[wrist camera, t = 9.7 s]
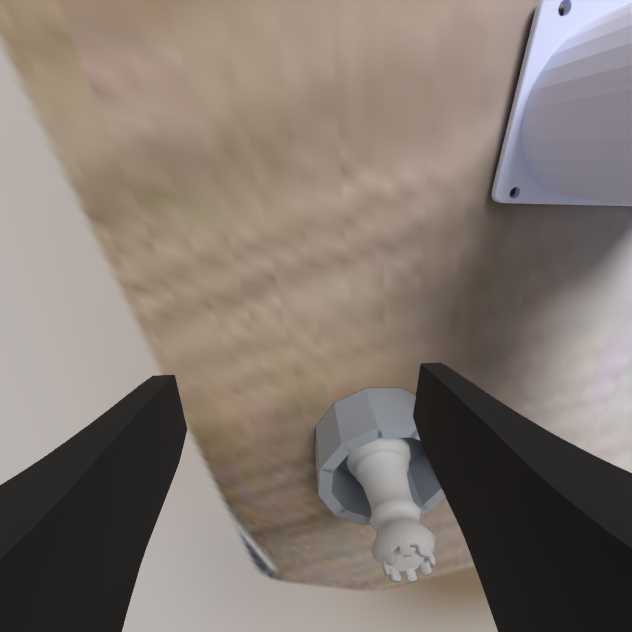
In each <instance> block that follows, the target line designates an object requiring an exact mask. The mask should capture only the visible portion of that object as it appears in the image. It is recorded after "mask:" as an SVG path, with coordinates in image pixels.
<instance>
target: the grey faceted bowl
mask: <svg viewBox="0 0 632 632" xmlns="http://www.w3.org/2000/svg"><path fill="white" fill-rule="evenodd" d="M415 399H416V395H414V394H412V393H410V392H408V391H406V390H404V389H402V388H365V389H363V390H361V391H359V392H357V393H355V394H352V395H350V396H348V397H346V398H344V399H342V400H340V401H337V402H335V403H334V404H333V405H332V406H331V408H330V409H329V410H328V412H327V413H326V414H325V415H324V417H323V418H322V419H321V421H320V422H319V423H318V424H317V426H316V437H315V458H316V470H317V482H318V494H319V497H320V498H321V499H322V500H323V502H324V503H325V504H326V505H327V506H328V508H329V509H330V510H331V511H332V512H333V514H334V515H335V516H338V517H341V518H344V519H346V520H349V521H352V522H355V523H358V524H361V525H371V523H370V518H371V515H372V511H371V507H370V504H369V501H368V498H367V496H366V493H365V490H364V488H363V486H362V485H361V484H360V483H359V482H358V481H357V480H356V477H355V476H354V475H353V474H352V473H350V471H349V469H348V468H347V464H346V461H345V457H346V456H347V455H348V454H349V453H350V452H351V451H353V450H355V449H357V448H359V447H362V446H364V445H366V444H369V443H371V442H373V441H375V440H378V439H380V438H407V442H408V443H409V448H410V455H411V458H410V461H409V469H408V472H407V478H408V483H409V488H410V493H411V496H412V499H413V502H414V503H415V504H416V505H417V506H418V507H419V508H420V511H421V515H422V514H424V513H427V512H429V511H431V510H432V509H433V508H434V507H435V506H436V505H437V504H438V503H439V502H441V501H442V500H443V499H444V498H445V497H446V496H445V494H444V492H443V490H442V488H441V486H440V483H439V481H438V479H437V477H436V475H435V473H434V471H433V469H432V467H431V464H430V462H429V460H428V458H427V456H426V454H425V451H424V449H423V447H422V444H421V441H420V438H419V435H418V432H417V429H416V425H415V422H414V419H413V412H414V406H415Z"/></svg>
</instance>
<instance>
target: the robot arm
mask: <svg viewBox="0 0 632 632" xmlns="http://www.w3.org/2000/svg"><path fill="white" fill-rule="evenodd" d="M560 3H561V4H563V6H564V13H563V15H562V16H560V15H559V12H558V8H559V5H560ZM513 188H515V194H514V195H513V196H512V197H510V191H511V190H512V189H513ZM491 196H492V198H493V200H494V201H496V202H500V203H521V204H563V205H606V206H632V0H540V1H539V3H538V5H537V7H536V10H535V14H534V18H533V22H532V26H531V30H530V35H529V39H528V43H527V47H526V51H525V55H524V60H523V64H522V68H521V72H520V76H519V80H518V84H517V89H516V93H515V97H514V101H513V105H512V109H511V113H510V118H509V122H508V126H507V130H506V134H505V138H504V143H503V147H502V151H501V155H500V159H499V163H498V167H497V172H496V176H495V180H494V184H493V188H492V195H491ZM413 419H414V422H415V425H416V429H417V432H418V435H419V438H420V441H421V444H422V447H423V449H424V451H425V454H426V456H427V458H428V460H429V462H430V464H431V467H432V469H433V471H434V473H435V475H436V477H437V479H438V481H439V483H440V486H441V488H442V490H443V492H444V494H445V496H446V498H447V500H448V502H449V505H450V507H451V509H452V511H453V513H454V515H455V517H456V519H457V521H458V524H459V526H460V528H461V531H462V533H463V535H464V538H465V540H466V542H467V545H468V548H469V551H470V553H471V556H472V559H473V561H474V564H475V567H476V569H477V572H478V575H479V578H480V580H481V583H482V586H483V589H484V592H485V595H486V598H487V600H488V604H489V606H490V609H491V612H492V615H493V618H494V621H495V624H496V626H497V630H498V632H632V473H630V472H628V471H626V470H623V469H621V468H619V467H617V466H614V465H612V464H610V463H608V462H606V461H604V460H602V459H600V458H598V457H596V456H594V455H592V454H590V453H588V452H586V451H584V450H582V449H580V448H578V447H577V446H575V445H573V444H571V443H569V442H567V441H565V440H563V439H561V438H559V437H558V436H556V435H554V434H552V433H550V432H549V431H547V430H545V429H543V428H542V427H540V426H538V425H537V424H535V423H533V422H532V421H530V420H528V419H527V418H525V417H523V416H522V415H520V414H518V413H517V412H515V411H514V410H512V409H511V408H509V407H507V406H506V405H504V404H503V403H501V402H500V401H498V400H497V399H495V398H494V397H492V396H491V395H489V394H488V393H486V392H485V391H483V390H482V389H480V388H479V387H477V386H476V385H474V384H473V383H471V382H470V381H468V380H467V379H465V378H464V377H462V376H461V375H460V374H458V373H457V372H455V371H454V370H452V369H450V368H449V367H447V366H446V365H444V364H442V363H423V364H421V366H420V373H419V379H418V386H417V393H416V399H415V406H414V412H413ZM186 432H187V426H186V422H185V418H184V413H183V409H182V405H181V400H180V396H179V392H178V387H177V383H176V379H175V375H160V376H152V377H151V378H149V379H148V380H146V381H145V382H144V383H142V384H141V385H140V386H138V387H137V388H136V389H134V390H133V391H132V392H131V393H129V394H128V395H127V396H126V397H124V398H123V399H122V400H120V401H119V402H118V403H117V404H115V405H114V406H113V407H112V408H110V409H109V410H108V411H106V412H105V413H104V414H103V415H101V416H100V417H99V418H97V419H96V420H95V421H94V422H92V423H91V424H90V425H88V426H87V427H85V428H84V429H83V430H81V431H80V432H79V433H78V434H76V435H74V436H73V437H72V438H70V439H69V440H68V441H66V442H65V443H63V444H62V445H61V446H59V447H58V448H57V449H55V450H54V451H52V452H51V453H49V454H48V455H47V456H45V457H44V458H42V459H41V460H39V461H38V462H36V463H35V464H33V465H32V466H30V467H29V468H27V469H26V470H24V471H22V472H21V473H19V474H18V475H16V476H15V477H13V478H11V479H10V480H8V481H7V482H5V483H3V484H2V485H0V632H122V628H123V625H124V621H125V617H126V613H127V610H128V606H129V603H130V599H131V596H132V592H133V588H134V585H135V582H136V579H137V575H138V572H139V568H140V564H141V562H142V559H143V556H144V553H145V550H146V547H147V544H148V542H149V539H150V537H151V534H152V532H153V529H154V527H155V524H156V521H157V519H158V516H159V514H160V511H161V508H162V506H163V503H164V501H165V498H166V495H167V493H168V490H169V488H170V485H171V483H172V480H173V477H174V475H175V472H176V469H177V467H178V464H179V460H180V457H181V453H182V449H183V445H184V440H185V436H186Z"/></svg>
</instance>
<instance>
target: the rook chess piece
mask: <svg viewBox="0 0 632 632" xmlns="http://www.w3.org/2000/svg"><path fill="white" fill-rule="evenodd" d="M410 458H411V455H410V448H409V443H408V442H407V438H380V439H378V440H375V441H373V442H371V443H369V444H366V445H364V446H362V447H359V448H357V449H355V450H353V451H351V452H350V453H349V454H348V455H347V456H346V457H345V461H346V464H347V468H348V469H349V471H350V473H352V474H353V475H354V476H355V477H356V480H357V481H358V482H359V483H360V484H361V485H362V486H363V488H364V490H365V493H366V496H367V498H368V501H369V504H370V507H371V511H372V515H371V518H370V523H371V526H372V527H373V528H374V529H375V530H376V531H377V537H376V539H375V542H374V545H373V547H372V553H373V556H374V558H375V559H376V560H377V561H378V562H380V563H381V564H382V565H383V569H384V573H385V576H388V575H390V579H391V581H395V582H398V583H399V582H400V580H401V576H400V572H406V576H407V580H408V583H409V582H414V581H418V578H417V575H416V572H415V570H416V569H419V568H421V570H422V573H423V575H425V576H428V575H429V574H430V573H432V572H433V569H432V566H434V565H436V562H435V558H434V555H433V552H434V548H435V545H436V540H435V536H434V535H433V534H432V533H431V532H430V531H429V530H428V529H427V528H425V527H424V526H423V525H421V523H420V521H419V519H420V517H421V511H420V508H419V507H418V506H417V505H416V504H415V503H414V502H413V499H412V496H411V493H410V488H409V483H408V478H407V472H408V469H409V461H410Z"/></svg>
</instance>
